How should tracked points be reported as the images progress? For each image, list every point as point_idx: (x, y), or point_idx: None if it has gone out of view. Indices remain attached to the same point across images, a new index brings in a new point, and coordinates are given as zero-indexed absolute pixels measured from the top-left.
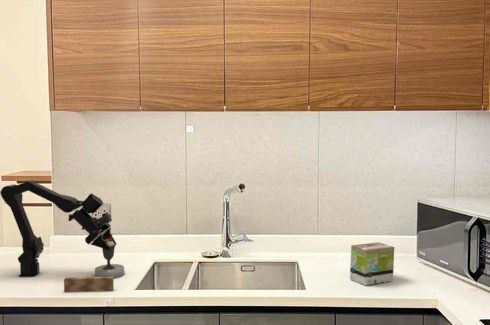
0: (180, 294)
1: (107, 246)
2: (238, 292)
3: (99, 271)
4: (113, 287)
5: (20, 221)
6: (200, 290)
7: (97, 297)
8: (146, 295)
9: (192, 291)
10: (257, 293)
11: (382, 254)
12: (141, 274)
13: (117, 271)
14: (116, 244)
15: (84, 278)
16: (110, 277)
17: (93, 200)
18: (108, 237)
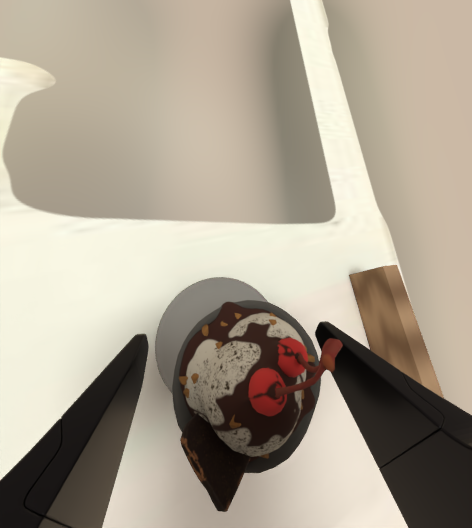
0: (345, 132)
1: (352, 343)
2: (314, 49)
3: None
4: (353, 274)
5: None
6: (316, 99)
7: (408, 297)
8: (367, 191)
9: (325, 112)
10: (314, 28)
11: None
12: (209, 226)
13: (257, 291)
14: (230, 302)
15: (429, 363)
16: (394, 272)
17: None
18: (281, 409)
